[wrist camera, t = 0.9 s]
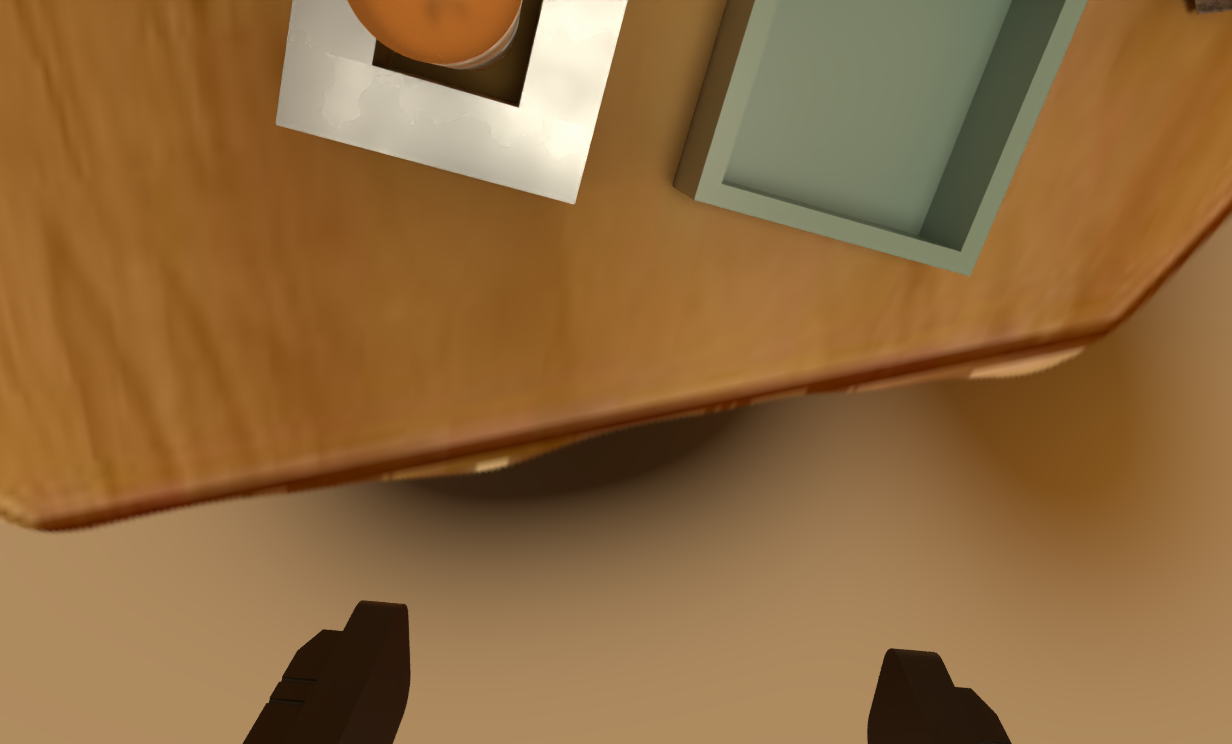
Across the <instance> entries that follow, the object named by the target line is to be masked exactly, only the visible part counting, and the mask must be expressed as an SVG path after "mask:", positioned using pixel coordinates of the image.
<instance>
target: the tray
mask: <svg viewBox="0 0 1232 744" xmlns="http://www.w3.org/2000/svg"><path fill="white" fill-rule="evenodd" d="M1087 1H1088V0H728V1H727V4H726V8H725V11H724V14H723V18H722V21H721V25H720V28H719V31H718V35H717V38H716V41H715V45H714V48H713V52H712V55H711V58H710V62H709V65H708V68H707V72H706V75H705V79H704V82H703V85H702V89H701V92H700V95H699V99H698V102H697V106H696V109H695V112H694V116H693V119H692V123H691V126H690V129H689V133H688V136H687V139H686V143H685V146H684V150H683V153H682V156H681V160H680V163H679V166H678V170H677V173H676V177H675V180H674V183H673V187H675V188H676V189H678V190H679V191H681V192H683V193H684V194H686V195H687V196H689V197H690V198H692V199H693V200H696V201H700V202H704V203H707V204H711V205H714V206H718V207H722V208H725V209H729V210H732V211H736V212H740V213H743V214H747V215H750V216H754V217H758V218H761V219H765V220H769V221H772V222H776V223H779V224H783V225H787V226H790V227H794V228H797V229H801V230H805V231H808V232H812V233H815V234H819V235H823V236H826V237H830V238H834V239H837V240H841V241H844V242H848V243H852V244H855V245H859V246H862V247H866V248H870V249H873V250H877V251H880V252H884V253H888V254H891V255H895V256H899V257H902V258H906V259H909V260H913V261H917V262H920V263H924V264H927V265H931V266H935V267H938V268H942V269H945V270H949V271H953V272H956V273H960V274H964V275H967V276H971V273H972V271H973V269H974V266H975V264H976V262H977V259H978V257H979V255H980V252H981V250H982V248H983V245H984V243H985V240H986V238H987V236H988V233H989V231H990V229H991V226H992V224H993V222H994V219H995V217H996V215H997V212H998V210H999V208H1000V205H1001V203H1002V201H1003V198H1004V196H1005V194H1006V191H1007V189H1008V186H1009V184H1010V182H1011V179H1012V177H1013V175H1014V172H1015V170H1016V168H1017V165H1018V163H1019V161H1020V158H1021V156H1022V154H1023V151H1024V149H1025V147H1026V144H1027V142H1028V140H1029V137H1030V135H1031V133H1032V130H1033V128H1034V125H1035V123H1036V121H1037V118H1038V116H1039V114H1040V111H1041V109H1042V107H1043V104H1044V102H1045V100H1046V97H1047V95H1048V93H1049V90H1050V88H1051V86H1052V83H1053V81H1054V79H1055V76H1056V74H1057V71H1058V69H1059V67H1060V64H1061V62H1062V60H1063V57H1064V55H1065V53H1066V50H1067V48H1068V46H1069V43H1070V41H1071V39H1072V36H1073V34H1074V32H1075V29H1076V27H1077V25H1078V22H1079V20H1080V18H1081V15H1082V13H1083V10H1084V8H1085V6H1086V3H1087Z"/></svg>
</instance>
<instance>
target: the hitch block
mask: <svg viewBox="0 0 1232 744" xmlns="http://www.w3.org/2000/svg"><path fill="white" fill-rule="evenodd" d="M627 1H628V0H541V4H540V8H539V12H538V17H537V21H536V26H535V30H534V34H533V39H532V43H531V47H530V52H529V56H528V61H527V65H526V69H525V74H524V78H523V82H522V87H521V91H520V96H519V100H518V104H515V103H512V102H509V101H505V100H502V99H498V98H495V97H491V96H488V95H484V94H481V93H477V92H474V91H471V90H467V89H464V88H460V87H457V86H453V85H450V84H446V83H443V82H439V81H436V80H433V79H429V78H426V77H422V76H419V75H415V74H412V73H408V72H405V71H401V70H398V69H395V68H391V66H392V61H393V55H394V51H393V50H391V49H390V48H388V47H387V46H385V45H384V44H382V43H381V42H380V41H378V40H377V39H376V38H375V37H374V36H373V35H372V34H371V33H370V32H369V31H368V30H367V29H366V28H365V27H364V26H363V25H362V24H361V22H360V21H359V19H358V18H357V16H356V15H355V14H354V12H353V10H352V9H351V7H350V5H349V3H348V1H347V0H293V1H292V8H291V16H290V23H289V30H288V37H287V45H286V52H285V59H284V66H283V73H282V81H281V88H280V95H279V102H278V110H277V117H276V124H275V125H278V126H282V127H286V128H290V129H293V130H297V131H301V132H305V133H308V134H312V135H316V136H320V137H323V138H327V139H331V140H335V141H338V142H342V143H346V144H350V145H353V146H357V147H361V148H365V149H368V150H372V151H376V152H380V153H383V154H387V155H391V156H395V157H398V158H402V159H406V160H410V161H413V162H417V163H421V164H425V165H428V166H432V167H436V168H440V169H443V170H447V171H451V172H455V173H458V174H462V175H466V176H470V177H473V178H477V179H481V180H485V181H488V182H492V183H496V184H500V185H503V186H507V187H511V188H515V189H518V190H522V191H526V192H530V193H533V194H537V195H541V196H545V197H548V198H552V199H556V200H560V201H563V202H567V203H571V204H575V201H576V197H577V193H578V189H579V186H580V182H581V178H582V174H583V170H584V166H585V162H586V159H587V155H588V151H589V147H590V143H591V139H592V135H593V132H594V128H595V124H596V120H597V116H598V112H599V108H600V105H601V101H602V97H603V93H604V89H605V85H606V82H607V78H608V74H609V70H610V66H611V62H612V58H613V55H614V51H615V47H616V43H617V39H618V35H619V31H620V28H621V24H622V20H623V16H624V12H625V8H626V4H627Z"/></svg>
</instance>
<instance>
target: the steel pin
mask: <svg viewBox="0 0 1232 744" xmlns="http://www.w3.org/2000/svg"><path fill="white" fill-rule="evenodd" d="M347 1H348V3H349V5H350V7H351V9H352V10H353V12H354V14H355V15H356V16H357V18H358V19H359V21H360V22H361V24H362V25H363V26H364V27H365V28H366V29H367V30H368V31H369V32H370V33H371V34H372V35H373V36H374V37H375V38H376V39H377V40H378V41H380V42H381V43H382V44H384V45H385V46H387V47H388V48H390V49H391V50H393V51H395V52H397V53H399V54H401V55H403V56H405V57H408V58H411V59H414V60H418V61H422V62H426V63H431V64H435V65H440V66H444V67H448V68H453V69H457V70H462V71H468V72H477V71H483V70H486V69H489V68H491V67H493V66H495V65H496V64H498V63H499V62H501V61H502V60H503V59H504V58H505V57H506V55H507V54H508V53H509V51H510V50H511V48H512V46H513V44H514V42H515V39H516V35H517V30H518V24H519V18H520V12H521V6H522V0H347Z"/></svg>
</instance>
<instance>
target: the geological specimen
mask: <svg viewBox="0 0 1232 744" xmlns="http://www.w3.org/2000/svg"><path fill="white" fill-rule="evenodd" d="M1195 5H1196V9H1197V13H1198V14H1205V13H1214V12H1222V11H1230V10H1232V0H1195Z"/></svg>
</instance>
